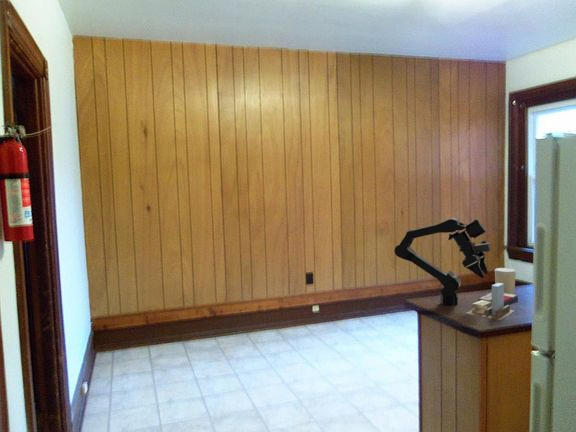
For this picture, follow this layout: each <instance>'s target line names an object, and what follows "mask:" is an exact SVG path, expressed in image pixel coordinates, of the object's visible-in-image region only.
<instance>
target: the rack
mask: <svg viewBox="0 0 576 432" xmlns="http://www.w3.org/2000/svg"><path fill="white" fill-rule="evenodd" d="M510 306H511V304H508V305H506V306H504V307H503V308H501V309H499V310H498V311H496V315H493V314H492V306H491V307H489V308H488V309H486V310H485V314H481V313H476V312H472V309H471V310H469V311H467V312H466V315H473V316H478V317H482V318H487V319H493V320H497V321H501V320H502V319H504V318H506V317H507V316H509V315H511V314H512V313H513V312H515V311H516V310H514V309H511V307H510Z"/></svg>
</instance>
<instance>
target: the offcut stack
mask: <svg viewBox="0 0 576 432" xmlns="http://www.w3.org/2000/svg"><path fill="white" fill-rule="evenodd" d="M491 306H492V302H489V301H484V300H481V301H478V300H477V301H476V302H473V303H472V307H473V308H472V309H471V310H472V312H476V313H481V314H485V310H486V309H488V308H489V307H491Z"/></svg>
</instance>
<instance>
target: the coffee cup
mask: <svg viewBox="0 0 576 432" xmlns="http://www.w3.org/2000/svg"><path fill="white" fill-rule="evenodd" d="M516 273H517V271H516V269H515V268H511V267H510V268H509V267H498V268H495V269H494V282H495V283H494V284H496V283H503V284H504V293H508V294H513V295H515V289H516V288H515V287H516Z"/></svg>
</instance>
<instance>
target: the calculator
mask: <svg viewBox="0 0 576 432" xmlns="http://www.w3.org/2000/svg"><path fill="white" fill-rule="evenodd" d="M518 299H519V297H518V295H517V294H514V295H513V294H508V293H504V307H505V306H506V305H511V304H513V303H517V304H518V302H519V301H518ZM481 300H484V301H489V302H492V292H490V293H486V294H485V295H483V296H481V297H479V298H478V299H477V302H478V301H481Z"/></svg>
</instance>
